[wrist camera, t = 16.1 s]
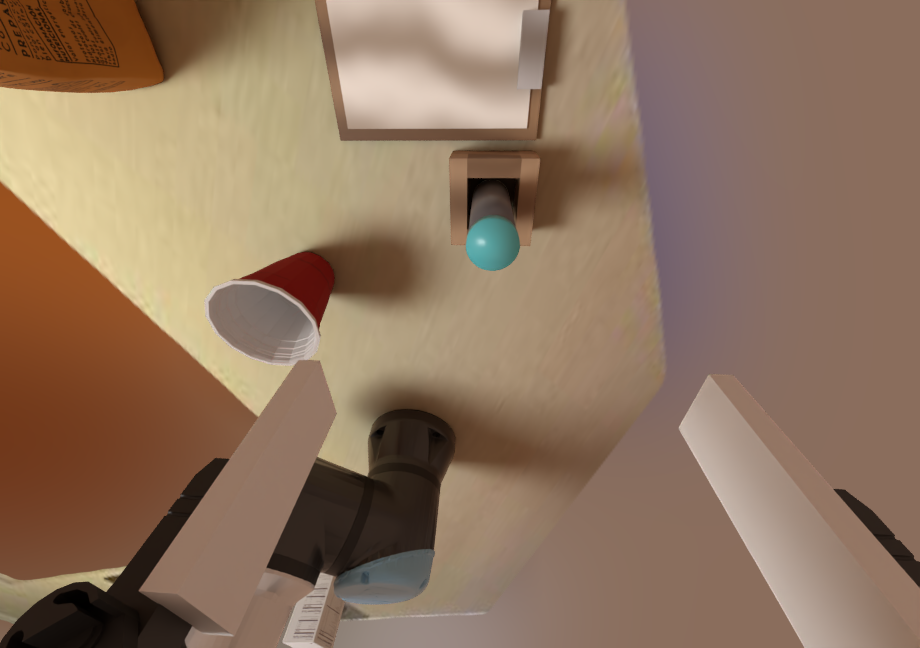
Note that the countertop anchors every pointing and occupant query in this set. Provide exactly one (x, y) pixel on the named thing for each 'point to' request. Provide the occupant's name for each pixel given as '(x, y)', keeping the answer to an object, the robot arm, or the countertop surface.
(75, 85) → the coffee package
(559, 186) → the countertop surface
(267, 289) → the plastic cup
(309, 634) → the supplement box
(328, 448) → the countertop surface
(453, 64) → the clipboard
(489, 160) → the stand
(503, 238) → the marker
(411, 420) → the robot arm
